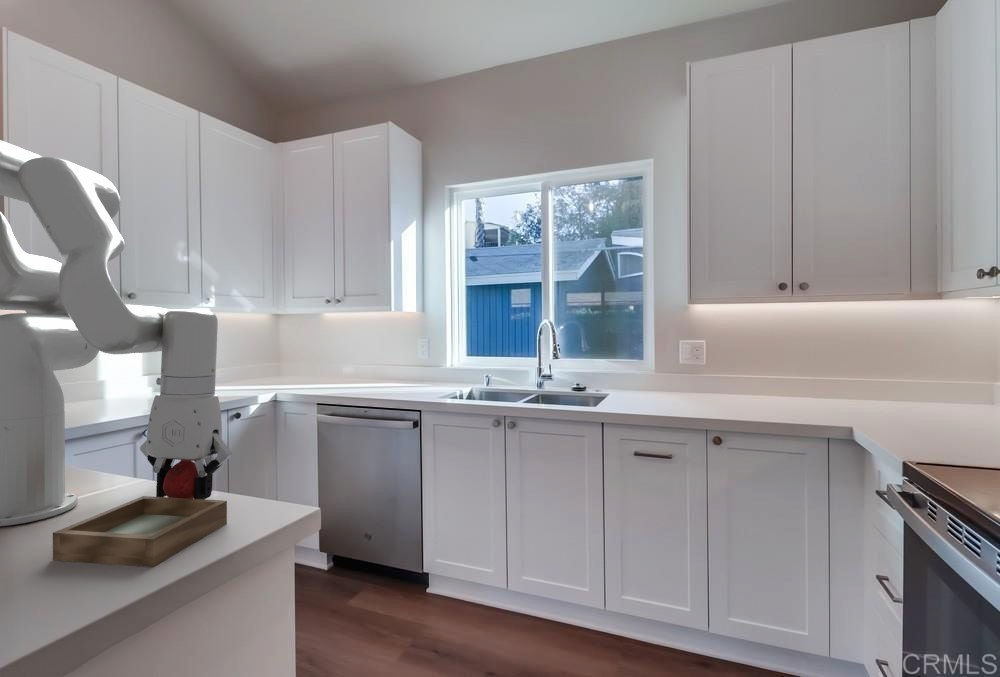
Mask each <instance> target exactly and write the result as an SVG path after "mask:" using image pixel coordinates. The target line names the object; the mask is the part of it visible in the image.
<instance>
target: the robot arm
mask: <svg viewBox="0 0 1000 677" xmlns="http://www.w3.org/2000/svg"><path fill="white" fill-rule="evenodd" d="M0 196H1V197H2V196H3V197H6V198H9V199H13V200H17V201H22V202H24V203H27V204H28V205H29V207H30V208H31V210H32V211H33V213H34V215H35V217H36V218H37V220H38V221H39V223H40V225H41V226H42V228H43V229H44V231H45V233H46V234H47V236H48V238H49V239H50V241H51V243H52V245H53V246H54V248H55V249H56V251H57V253H58V255H59V256H60V259H61V262H59V261H58V260H55V259H53V258H49V257H46V256H41V255H36V254H31V253H30V254H29V253H28V252H25V251H24V250H23V248H21V246H20V245H19V243H18V241H17V239H16V237H15V235H14V233H13V230H12V228H11V225H10V223H9V221H8V220H7V218H6V217H5V216H4V214H3V213H2V212H1V211H0V311H1V310H3V311H22V312H17V313H16V312H14V313H5V314H0V527H6V526H14V525H21V524H22V525H23V524H26V523H32V522H35V521H36V522H37V521H40V520H45V519H48V518H51V517H55V516H58V515H60V514H64V513H65V512H67V511H69V510H72V509H73V508H75V507H76V506H77V505H78V503H79V500H78V498H79V497H78V495H76V494H75V493H72V492H66V436H65V435H66V434H65V433H66V430H65V429H66V427H65V426H66V424H65V423H66V419H65V416H66V413H65V412H66V411H65V397H64V392H63V389H62V386H61V384H60V383H59V380H58V379H57V376H56V374H55V371H63V370H71V369H78V368H81V367H85V366H86V365H88V364H89V363H91V362H92V361H94V360H95V358H96V357H97V355H98V354H99V351H100V352H101V353H105V354H109V355H128V354H130V355H131V354H142V353H143V354H144V353H145V354H146V353H154V352H155V353H156V352H161V358H160V359H161V360H160V361H161V362H160V376H159V377H157V378H156V380H155V383H156V385H157V386H160V387H159V388H160V389H159V393H156V394H155V396H154V399H153V401H152V404H151V408H150V413H149V418H148V425H147V432H146V440H145V441H144V442H143V443H142V444H141V445H140V446H139V450H140V452H141V453H142V454H143V455H144V456H145V457H146V459H147V461H148V462H149V464H150V465H151V466H152V472H153V474H154V473H155V474H156V492H155V493H156V494H155V497H167V496H166V494H165V492H164V489H163V483H164V478H165V476H166V474H167V473H168V471H169V470H170V469H171V468H172V467H173V466H174V463H175V461H176V460H179V461H181V460H189V461H192V462H194V463H195V465H196V468H197V471H198V475H199V476H197V477H195V482H194V499H205V500H207V499H208V498H210V497H211V496H212V492H213V477H214V476H213V475H214V474H215V473H216V472H217V471H218V469H219V468H220V467H221V466H223V464H224V463H225V462H227V461H228V459H230V458H231V457H232V456H233V453H232V451H231V449H230V448H229V447H228V445H227V444H226V443H225V442H224V440H223V437H222V436H223V428H222V427H223V426H222V413H221V404H220V399H219V395H218V394H216V374H217V373H216V372H217V371H216V370H217V351H218V350H217V349H218V348H217V347H218V327H219V326H218V325H219V322H218V317H217V315H216V314H215V313H214V312H212V311H208V310H201V309H200V310H198V309H181V308H180V309H177V308H175V309H169V308H165V307H164V308H163V307H159V306H151V305H150V306H149V305H138V304H137V305H136V304H126V303H125V302H124V299H122V297H121V296H120V294H119V292H118V290H117V288H116V287H115V285H114V283H113V281H112V279H111V277H110V274H109V269H108V265H109V262H110V261H112V260H114V259H115V258H117V257H118V256H119V255H121V254H122V253H123V251H124V250H125V241H124V240H125V239H124V238H123V236H122V235H121V233H120V232H119V230H118V228H117V226H116V225H115V223H114V222H113V218H115V217H116V216H117V214H118V213H119V210H120V207H121V196H120V194H119V192H118V190H117V188H116V186H115V185H114V184H113V183H112V182H111V181H110V180H109V179H108V178H106V176H103V175H102V174H99V173H97V172H95V171H93V170H91V169H88V168H85V167H83V166H81V165H78V164H76V163H74V162H71V161H69V160H66V159H62V158H59V157H52V156H42V155H40V154H37V153H34V152H32V151H29V150H26V149H24V148H22V147H19V146H16V145H14V144H11V143H9V142H7V141H4V140H2V139H0ZM23 311H25V312H23ZM214 455H216V457H214Z"/></svg>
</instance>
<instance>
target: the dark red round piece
mask: <svg viewBox="0 0 1000 677" xmlns="http://www.w3.org/2000/svg"><path fill="white" fill-rule="evenodd" d="M197 476H199V475H198V471H197V468H196V465H195V462H194V461H189V460H179V462H177V463H176V464H173V466H172V468H171V469H170V470H169V471H168V473H167V474H166V476H165V478H164V483H163V489H164V492H165V494H166V496H165V497H169V498H187V499H194V482H195V477H197Z"/></svg>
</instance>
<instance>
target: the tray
mask: <svg viewBox="0 0 1000 677" xmlns="http://www.w3.org/2000/svg"><path fill="white" fill-rule="evenodd" d="M227 524H228V501H227V500H222V499H221V500H219V499H187V498H169V497H167V496H165V497H156V496H148V495H142V496H139V497H138V498H134V499H132V500H129V501H127V502H124V503H122V504H120V505H118V506H116V507H113V508H110V509H108V510H105V511H103V512H100V513H98V514H95V515H93V516H90V517H88V518H86V519H83V520H81V521H79V522H76V523H73V524H71V525H69V526H66V527H64V528H62V529H59V530H58V529H57V530H56V531H54V532H52V561H63V562H75V563H76V562H79V563H87V564H88V563H90V564H102V565H103V564H105V565H118V566H119V565H120V566H132V567H133V566H134V567H146V568H154V567H156V566H158V565H159V564H161V563H163V562H165V561H166V560H168V559H170V558H171V557H173V556H175V555H176V554H178V553H179V552H181V551H183V550H184V549H187V548H188V547H189V546H191V545H193V544H194V543H197V542H198V541H200V540H201V539H203V538H205V537H206V536H208V535H210V534H212V533H213V532H216V531H217V530H219V529H221V528H222V527H223V526H225V525H227Z"/></svg>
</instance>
